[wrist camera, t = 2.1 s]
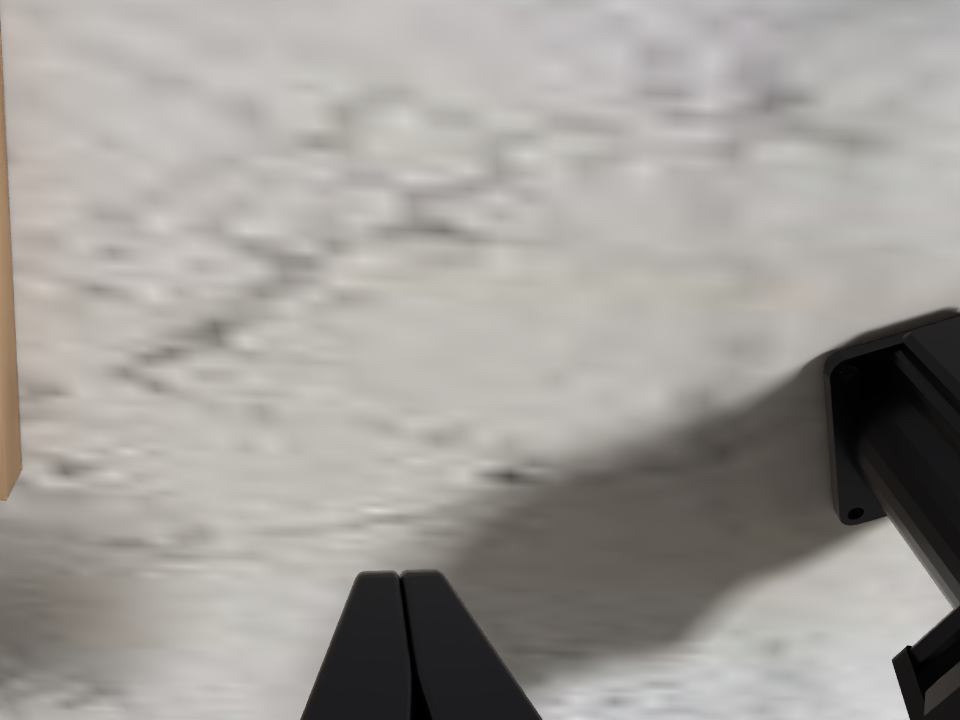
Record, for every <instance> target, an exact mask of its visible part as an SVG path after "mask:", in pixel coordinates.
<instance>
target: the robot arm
mask: <svg viewBox="0 0 960 720" xmlns="http://www.w3.org/2000/svg"><path fill="white" fill-rule="evenodd" d="M847 366H850V367H849V368H848V369H847V370H846V371H844V372H842V373H840V371H841V370H842V369H843V368H845V367H847ZM823 372H824V385H825V398H826V411H827V425H828V438H829V451H830V465H831V478H832V491H833V504H834V511H835V513H836V515H837V516H838V518H839V519H840V521H841V522H842V523H843V524H845V525H850V526H851V525H857V524H861V523H864V522H868V521H871V520H875V519H878V518H882V517H885V516H888V517H889V519H890V520H891V521H892V523H893V524H894V526H895V527H896V529H897V530H898V531H899V533H900V534H901V536H902V537H903V538H904V540H905V541H906V543H907V544H908V545H909V547H910V548H911V550H912V551H913V552H914V554H915V555H916V557H917V558H918V560H919V561H920V562H921V564H922V565H923V567H924V568H925V569H926V571H927V572H928V574H929V575H930V576H931V578H932V579H933V581H934V582H935V583H936V585H937V586H938V588H939V589H940V591H941V592H942V593H943V595H944V596H945V598H946V599H947V600H948V602H949V603H950V605H951V606H952V607H953V609H954V610H952V611H951V612H950V613H949V614H948V615H947V616H946V617H945V618H944V619H942V620H941V621H940V622H939V623H938V624H937V625H936V626H935V627H934V628H932V629H931V630H930V631H929V632H928V633H927V634H926V635H925V636H923V637H922V638H921V639H920V640H919V641H918V642H917V643H916V644H915V645H913V646H908V645H907V646H906V647H905V648H904V649H903V650H902V651H901V652H900V653H899V654H898V655H896V656H895V657H894V658H893V659H892V663H893V666H894V669H895V673H896V676H897V679H898V682H899V686H900V689H901V692H902V695H903V698H904V702H905V705H906V708H907V711H908V715H909V718H910V720H960V316H957V317H953V318H950V319H946V320H943V321H940V322H936V323H933V324H930V325H926V326H923V327H919V328H916V329H913V330H909V331H906V332H903V333H899V334H896V335H892V336H889V337H886V338H882V339H879V340H876V341H872V342H869V343H865V344H862V345H859V346H855V347H852V348H849V349H845V350H842V351H839V352H837V353H835V354H833V355H832V356H831V357H830V358H829V359H828V360H827V361H826V363H825V365H824V370H823ZM300 720H542V718H541V717H540V715H539V714H538V712H537V711H536V709H535V708H534V706H533V705H532V703H531V702H530V700H529V699H528V697H527V696H526V695H525V693H524V692H523V690H522V689H521V687H520V686H519V684H518V683H517V681H516V680H515V678H514V677H513V675H512V674H511V673H510V671H509V670H508V668H507V667H506V665H505V664H504V662H503V661H502V659H501V658H500V656H499V655H498V653H497V652H496V651H495V649H494V648H493V646H492V645H491V643H490V642H489V640H488V639H487V637H486V636H485V634H484V633H483V631H482V630H481V629H480V627H479V626H478V624H477V623H476V621H475V620H474V618H473V617H472V615H471V614H470V612H469V611H468V609H467V608H466V607H465V605H464V604H463V602H462V601H461V599H460V598H459V596H458V595H457V593H456V592H455V590H454V589H453V587H452V586H451V585H450V583H449V582H448V580H447V579H446V577H445V576H444V575H443V574H442V573H441V572H440V571H438V570H435V569H425V570H406V571H403V572H402V573H401V574H400V576H399V575H398V574H397V573H396V572H395V571H364V572H361V573H359V574H358V575H357V577H356V579H355V581H354V583H353V586H352V589H351V591H350V594H349V596H348V599H347V601H346V604H345V607H344V609H343V612H342V614H341V617H340V619H339V622H338V624H337V627H336V630H335V632H334V635H333V637H332V640H331V642H330V645H329V648H328V650H327V653H326V655H325V658H324V660H323V663H322V666H321V668H320V671H319V673H318V676H317V678H316V681H315V683H314V686H313V689H312V691H311V694H310V696H309V699H308V701H307V704H306V707H305V709H304V712H303V714H302V717H301V719H300Z"/></svg>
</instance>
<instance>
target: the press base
mask: <svg viewBox="0 0 960 720" xmlns="http://www.w3.org/2000/svg"><path fill="white" fill-rule="evenodd" d="M21 471H22V459H21V438H20V417H19V397H18V376H17V355H16V334H15V314H14V293H13V272H12V251H11V230H10V210H9V189H8V168H7V147H6V127H5V106H4V85H3V64H2V44H1V23H0V500H3V501H7V499H8V497H9V495H10V493H11V491H12V489H13V487H14V485H15V483H16V481H17V479H18V477H19V475H20V473H21Z"/></svg>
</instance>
